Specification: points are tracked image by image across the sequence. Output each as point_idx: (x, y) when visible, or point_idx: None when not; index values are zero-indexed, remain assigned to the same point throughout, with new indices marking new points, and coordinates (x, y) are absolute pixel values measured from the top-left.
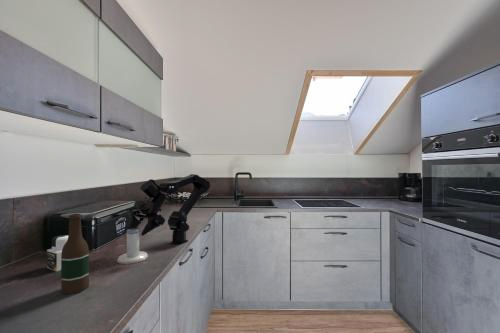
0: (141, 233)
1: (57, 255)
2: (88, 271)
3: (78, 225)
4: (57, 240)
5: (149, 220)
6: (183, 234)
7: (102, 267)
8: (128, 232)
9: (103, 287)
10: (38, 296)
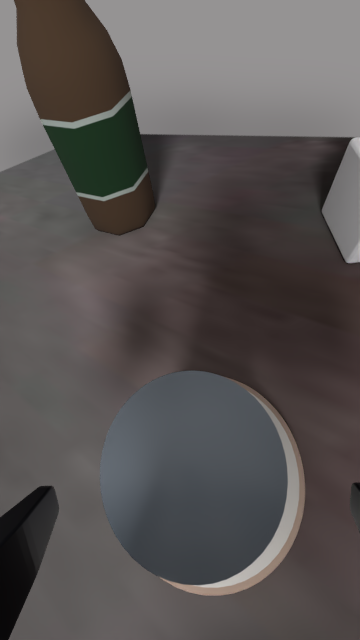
0: (36, 492)
1: (345, 153)
2: (73, 185)
3: None
4: None
5: None
6: None
7: (220, 311)
8: (175, 378)
9: (58, 251)
10: (165, 166)
